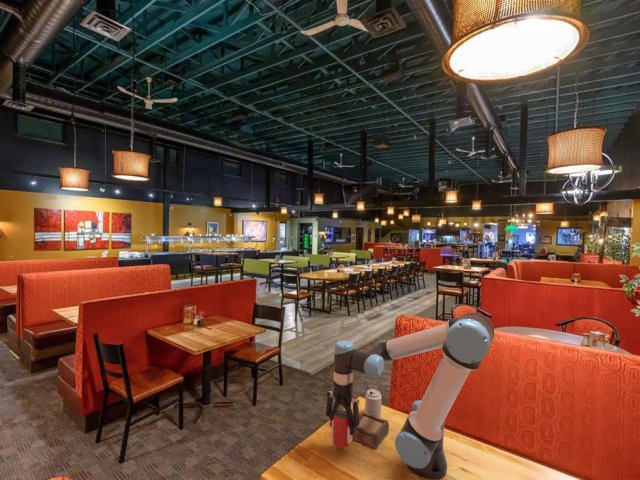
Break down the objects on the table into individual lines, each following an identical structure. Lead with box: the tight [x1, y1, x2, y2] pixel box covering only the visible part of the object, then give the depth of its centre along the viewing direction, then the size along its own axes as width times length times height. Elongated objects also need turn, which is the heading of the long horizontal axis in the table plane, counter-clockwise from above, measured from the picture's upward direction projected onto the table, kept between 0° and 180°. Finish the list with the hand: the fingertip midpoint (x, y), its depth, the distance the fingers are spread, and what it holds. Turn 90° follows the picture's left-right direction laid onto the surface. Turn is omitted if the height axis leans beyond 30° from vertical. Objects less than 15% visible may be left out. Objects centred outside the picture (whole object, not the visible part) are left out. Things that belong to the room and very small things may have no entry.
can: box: [364, 388, 382, 418], centre depth 150 cm, size 8×8×12 cm
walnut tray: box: [352, 410, 390, 450], centre depth 137 cm, size 13×13×5 cm
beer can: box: [332, 409, 350, 449], centre depth 125 cm, size 7×7×12 cm
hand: (341, 438), depth 126 cm, fingers closed on beer can, 6 cm apart
